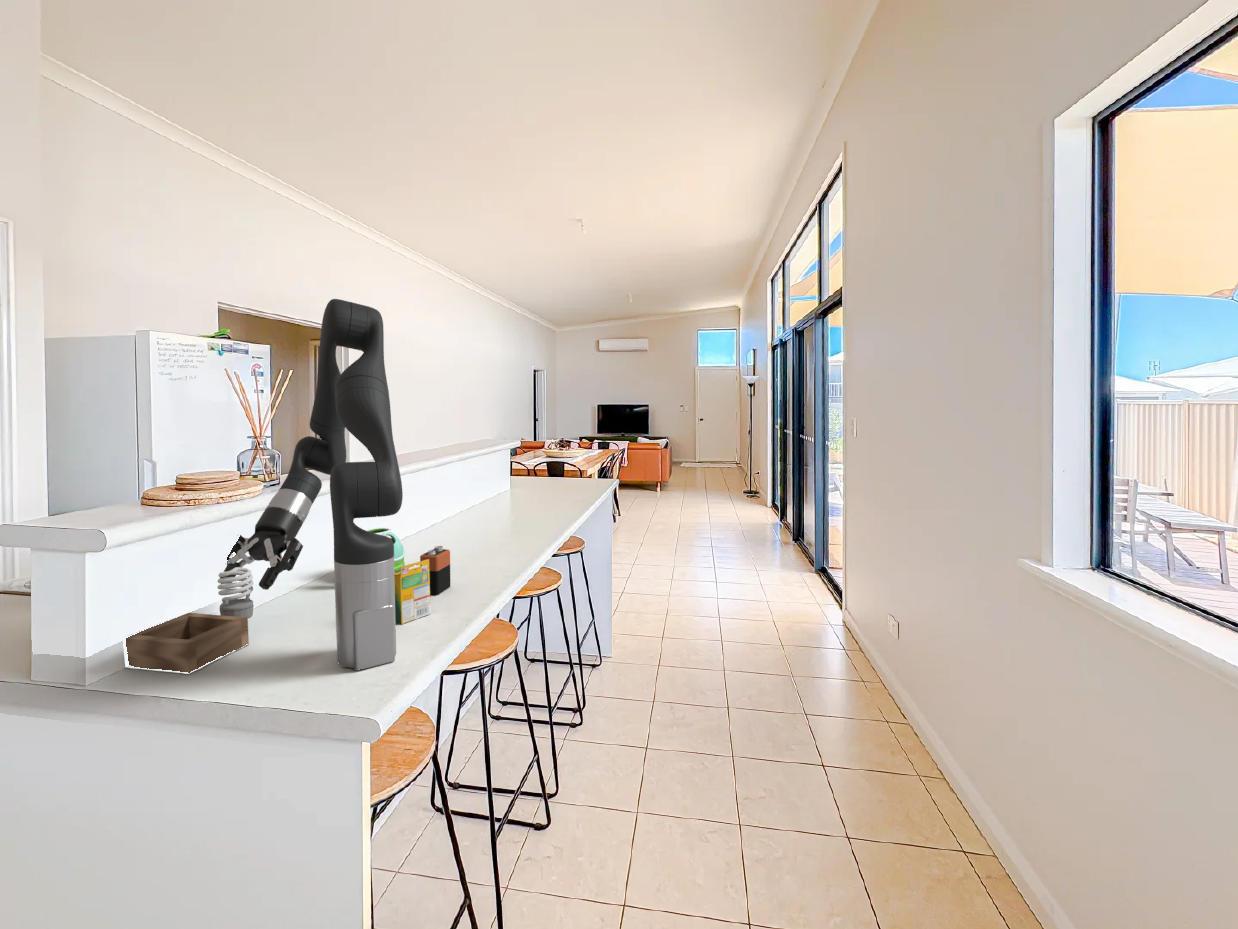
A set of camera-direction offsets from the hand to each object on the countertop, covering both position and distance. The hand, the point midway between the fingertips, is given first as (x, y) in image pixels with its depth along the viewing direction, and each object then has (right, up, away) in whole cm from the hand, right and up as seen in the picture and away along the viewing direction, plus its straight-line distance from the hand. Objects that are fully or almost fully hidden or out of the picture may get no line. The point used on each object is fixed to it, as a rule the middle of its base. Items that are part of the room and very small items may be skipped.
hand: (243, 586), depth 112 cm
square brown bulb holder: (-1, -9, -13) cm, 16 cm away
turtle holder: (+11, -5, +33) cm, 35 cm away
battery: (+29, -6, +25) cm, 39 cm away
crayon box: (+30, -8, +7) cm, 31 cm away
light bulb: (0, -8, -1) cm, 8 cm away
